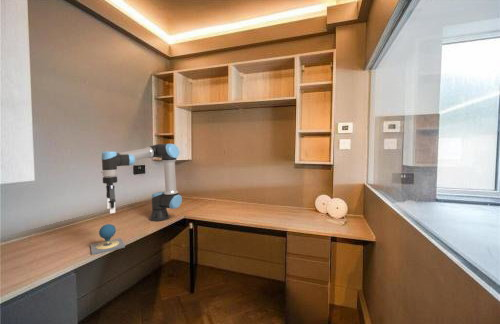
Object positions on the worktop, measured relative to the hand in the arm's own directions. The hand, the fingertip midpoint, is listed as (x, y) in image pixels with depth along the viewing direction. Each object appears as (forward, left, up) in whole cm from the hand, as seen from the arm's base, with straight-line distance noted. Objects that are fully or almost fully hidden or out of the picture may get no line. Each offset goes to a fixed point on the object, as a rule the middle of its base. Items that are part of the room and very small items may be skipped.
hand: (111, 210), depth 132 cm
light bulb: (+2, +3, -20) cm, 20 cm away
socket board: (+2, +3, -21) cm, 21 cm away
